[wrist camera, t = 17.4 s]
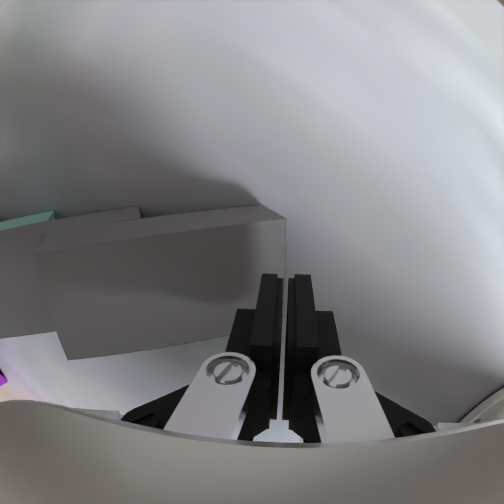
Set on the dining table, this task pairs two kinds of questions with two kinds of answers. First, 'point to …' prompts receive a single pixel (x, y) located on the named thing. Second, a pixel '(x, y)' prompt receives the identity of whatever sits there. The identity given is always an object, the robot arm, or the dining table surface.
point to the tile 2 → (157, 278)
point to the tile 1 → (25, 272)
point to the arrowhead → (2, 380)
